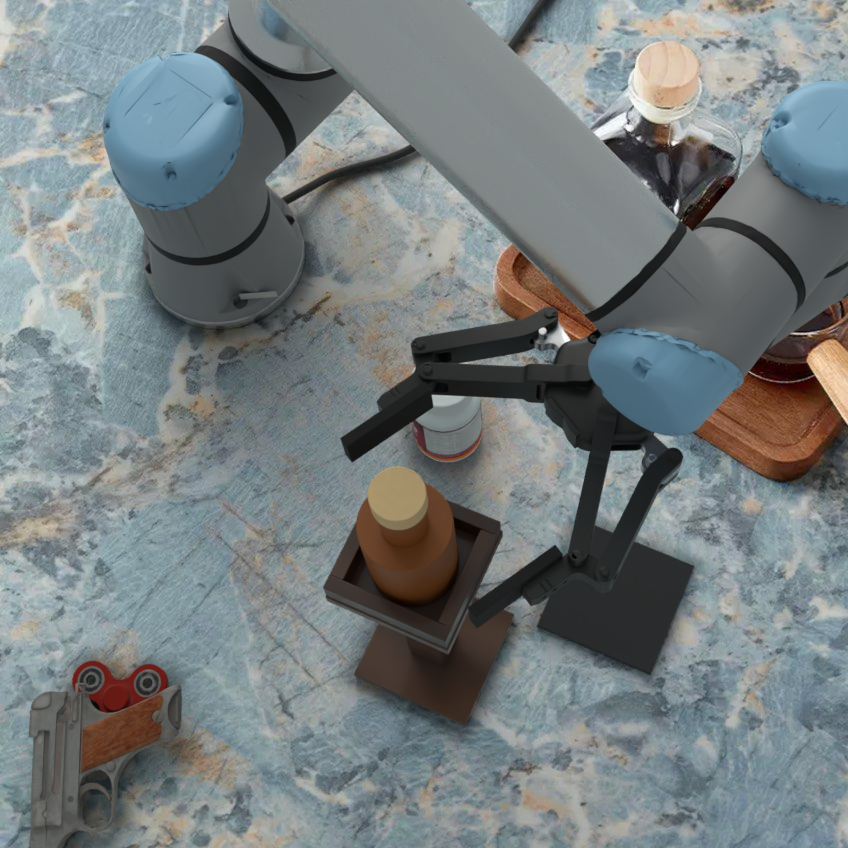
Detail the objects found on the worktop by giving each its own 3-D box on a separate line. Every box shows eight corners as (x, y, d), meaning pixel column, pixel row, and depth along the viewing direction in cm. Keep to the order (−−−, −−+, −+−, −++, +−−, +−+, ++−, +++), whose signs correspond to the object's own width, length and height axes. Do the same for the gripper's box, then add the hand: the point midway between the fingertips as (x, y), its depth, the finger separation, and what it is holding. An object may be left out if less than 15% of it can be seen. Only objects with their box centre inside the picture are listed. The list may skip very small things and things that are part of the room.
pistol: (183, 681, 106) (37, 684, 107) (177, 681, 104) (28, 683, 104) (178, 923, 103) (26, 925, 103) (171, 928, 100) (16, 930, 101)
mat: (582, 521, 112) (582, 520, 111) (693, 566, 109) (694, 565, 109) (537, 626, 108) (537, 625, 108) (650, 675, 106) (651, 674, 106)
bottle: (393, 507, 89) (372, 430, 77) (473, 541, 87) (465, 468, 75) (354, 585, 87) (327, 519, 74) (436, 621, 85) (422, 559, 73)
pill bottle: (414, 401, 117) (404, 344, 107) (482, 400, 117) (479, 343, 106) (413, 465, 115) (403, 413, 104) (483, 464, 114) (480, 412, 104)
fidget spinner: (118, 762, 106) (113, 760, 105) (50, 711, 108) (44, 709, 107) (177, 679, 108) (172, 676, 107) (109, 631, 110) (104, 628, 109)
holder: (406, 570, 111) (376, 461, 88) (514, 616, 109) (512, 516, 86) (355, 677, 108) (310, 592, 85) (465, 727, 105) (450, 654, 82)
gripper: (793, 510, 83) (529, 707, 80) (554, 244, 92) (306, 409, 89) (818, 467, 77) (530, 680, 73) (557, 184, 86) (288, 361, 82)
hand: (406, 532), depth 81 cm, fingers open, 13 cm apart
